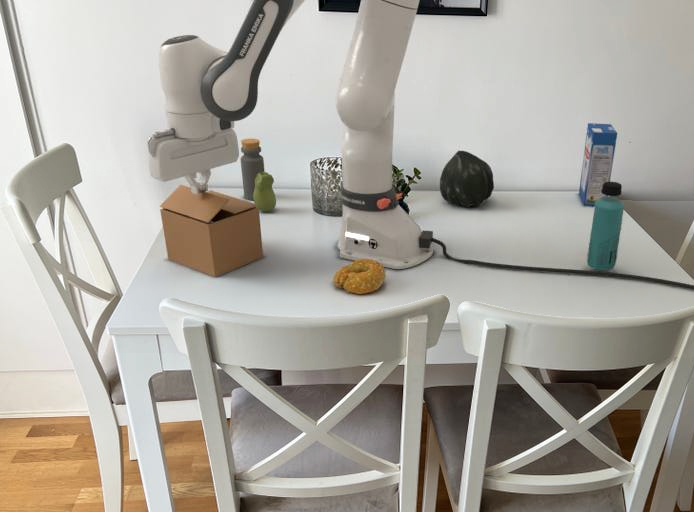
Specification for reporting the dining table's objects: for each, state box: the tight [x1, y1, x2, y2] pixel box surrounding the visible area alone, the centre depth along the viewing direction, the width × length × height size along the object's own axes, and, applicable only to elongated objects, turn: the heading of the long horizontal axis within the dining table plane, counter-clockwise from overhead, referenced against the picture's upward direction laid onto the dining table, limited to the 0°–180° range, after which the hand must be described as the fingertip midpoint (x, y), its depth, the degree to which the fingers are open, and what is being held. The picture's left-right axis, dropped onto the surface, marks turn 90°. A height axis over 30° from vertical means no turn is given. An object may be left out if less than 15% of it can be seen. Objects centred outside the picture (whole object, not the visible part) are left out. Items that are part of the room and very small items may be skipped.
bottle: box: [240, 138, 266, 201], centre depth 196 cm, size 6×6×15 cm
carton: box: [159, 190, 264, 278], centre depth 161 cm, size 15×14×12 cm
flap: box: [159, 184, 229, 223], centre depth 155 cm, size 15×7×1 cm, turn 56°
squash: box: [439, 150, 495, 208], centre depth 200 cm, size 14×15×15 cm
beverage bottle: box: [586, 181, 625, 271], centre depth 162 cm, size 6×7×20 cm
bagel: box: [332, 259, 387, 295], centre depth 154 cm, size 10×11×5 cm
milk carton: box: [578, 122, 618, 208], centre depth 204 cm, size 10×6×20 cm, turn 179°
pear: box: [253, 171, 277, 213], centre depth 189 cm, size 6×5×10 cm
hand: (200, 192), depth 155 cm, fingers closed
